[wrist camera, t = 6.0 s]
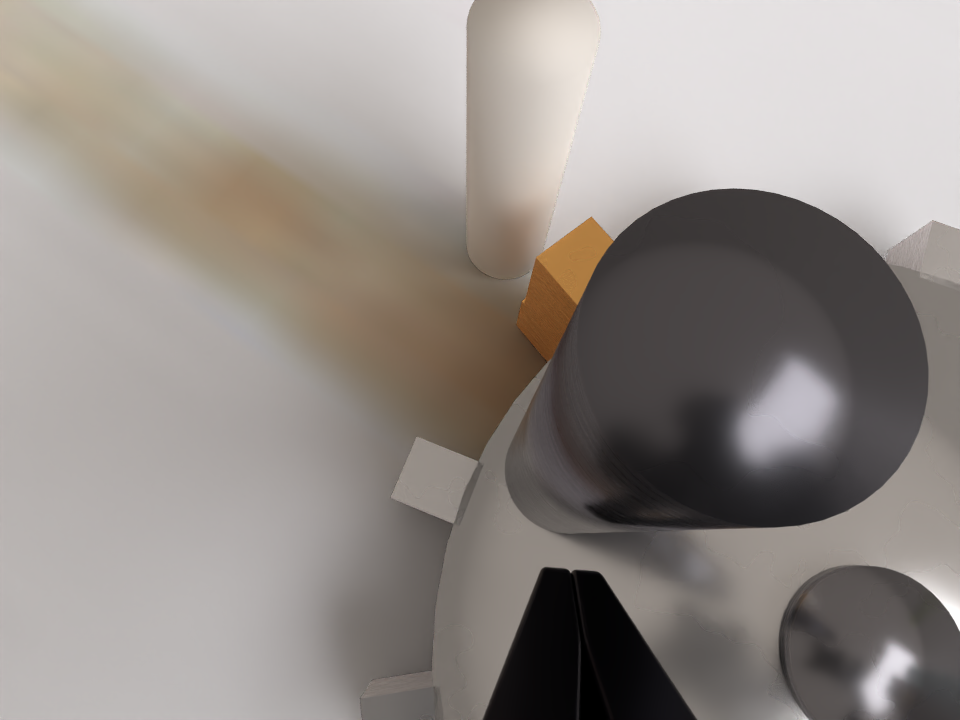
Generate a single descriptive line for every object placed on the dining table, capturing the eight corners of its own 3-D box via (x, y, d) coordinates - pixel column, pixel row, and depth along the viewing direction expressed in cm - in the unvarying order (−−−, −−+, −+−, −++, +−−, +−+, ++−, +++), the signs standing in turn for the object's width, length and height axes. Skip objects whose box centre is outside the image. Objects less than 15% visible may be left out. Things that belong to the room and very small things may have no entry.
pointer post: (524, 291, 20) (569, 105, 11) (453, 260, 20) (444, 53, 12) (555, 226, 21) (621, 1, 12) (486, 196, 21) (500, -46, 12)
